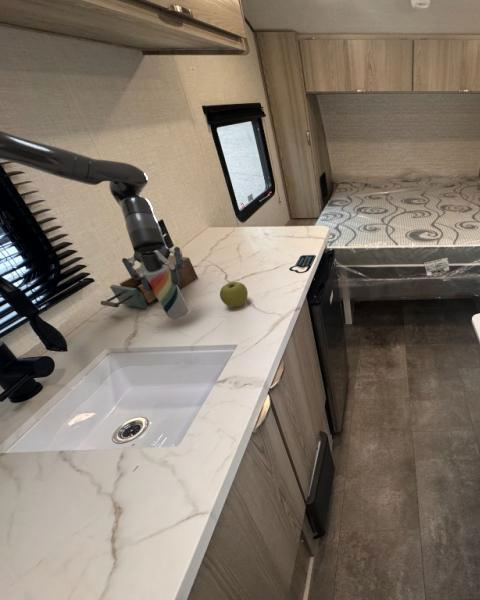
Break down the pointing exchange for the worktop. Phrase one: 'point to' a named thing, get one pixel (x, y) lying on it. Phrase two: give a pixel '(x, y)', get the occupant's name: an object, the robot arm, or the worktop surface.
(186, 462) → the worktop surface
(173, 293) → the lotion bottle
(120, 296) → the drawer
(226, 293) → the apple
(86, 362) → the worktop surface
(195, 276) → the cabinet
